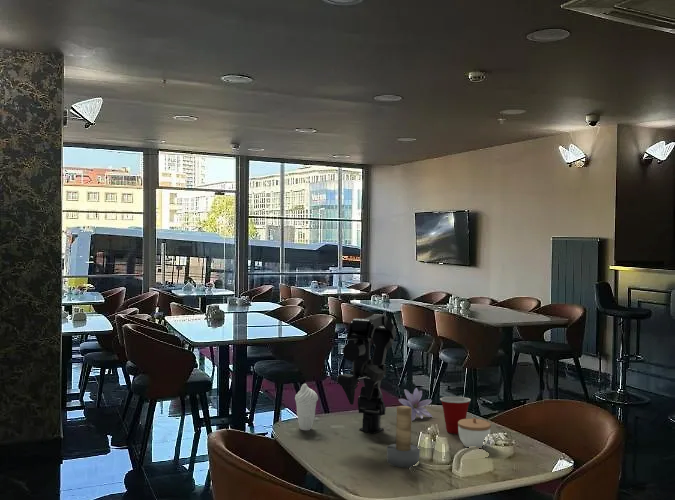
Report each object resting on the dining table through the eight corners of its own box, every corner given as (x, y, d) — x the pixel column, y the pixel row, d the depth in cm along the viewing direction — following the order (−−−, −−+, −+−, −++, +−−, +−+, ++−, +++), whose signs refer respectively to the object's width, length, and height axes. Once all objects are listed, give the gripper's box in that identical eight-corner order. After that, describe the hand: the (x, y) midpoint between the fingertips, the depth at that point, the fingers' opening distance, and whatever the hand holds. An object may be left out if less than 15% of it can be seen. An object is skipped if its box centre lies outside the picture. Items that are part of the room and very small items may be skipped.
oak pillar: (398, 445, 199) (399, 405, 199) (412, 447, 198) (413, 407, 197) (394, 449, 195) (395, 408, 195) (408, 451, 193) (409, 410, 193)
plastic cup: (460, 426, 236) (461, 393, 236) (475, 434, 226) (476, 400, 225) (433, 428, 232) (434, 395, 232) (448, 437, 222) (449, 402, 222)
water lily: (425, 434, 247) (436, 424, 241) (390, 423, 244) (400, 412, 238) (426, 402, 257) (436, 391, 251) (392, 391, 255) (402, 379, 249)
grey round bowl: (398, 453, 203) (399, 441, 203) (425, 461, 197) (426, 448, 197) (380, 461, 196) (380, 448, 196) (407, 469, 189) (407, 456, 189)
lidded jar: (453, 441, 218) (454, 413, 218) (484, 441, 219) (485, 413, 219) (462, 451, 207) (463, 422, 207) (494, 451, 208) (495, 422, 208)
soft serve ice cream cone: (321, 427, 230) (322, 383, 230) (310, 433, 223) (311, 387, 222) (300, 424, 234) (301, 380, 233) (289, 430, 226) (290, 384, 226)
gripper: (363, 362, 203) (362, 411, 204) (397, 355, 218) (396, 401, 218) (336, 358, 211) (335, 405, 211) (370, 351, 225) (369, 395, 225)
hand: (360, 402), depth 216 cm, fingers open, 9 cm apart
